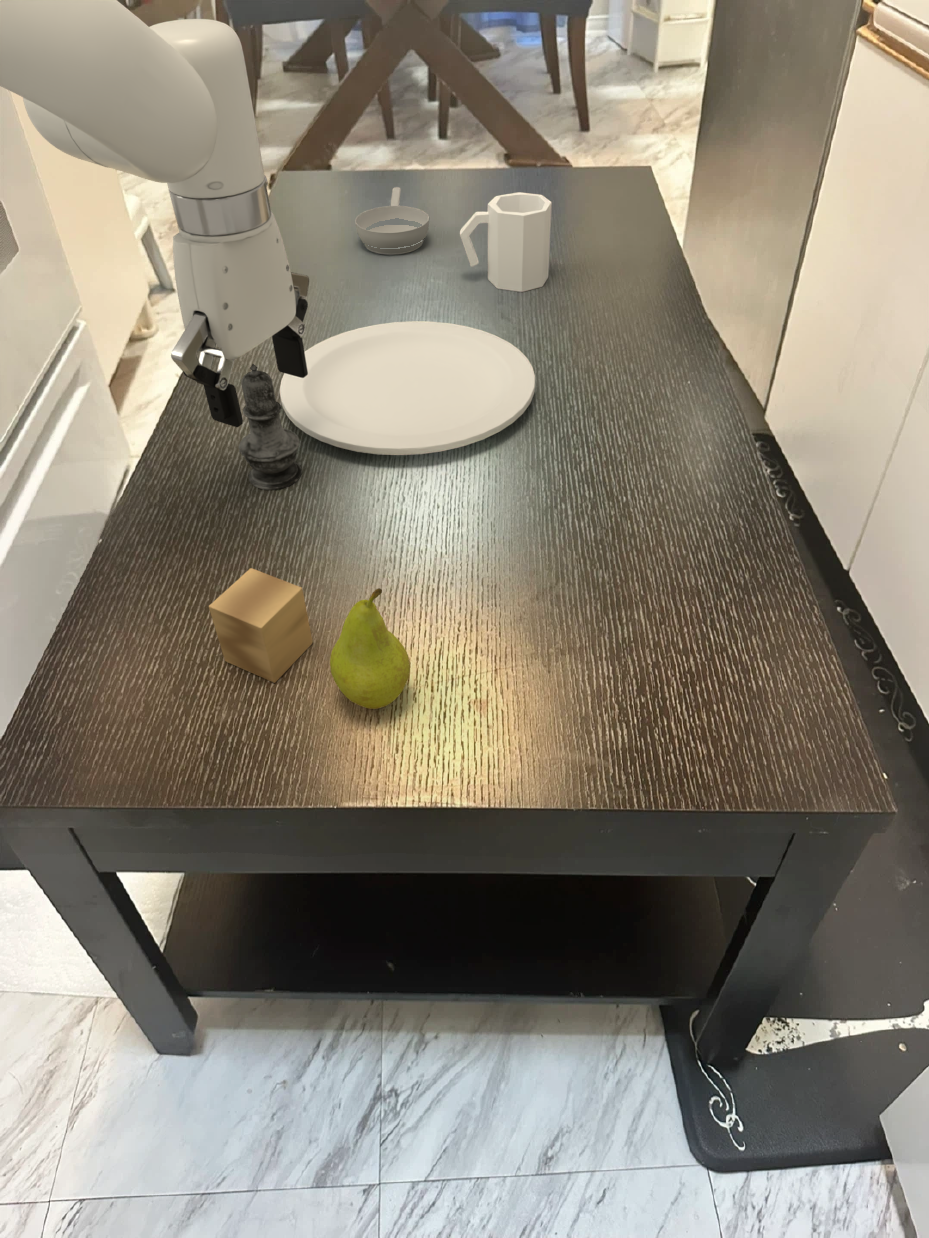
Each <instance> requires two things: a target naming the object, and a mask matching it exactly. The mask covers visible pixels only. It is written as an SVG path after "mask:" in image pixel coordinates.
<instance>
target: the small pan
mask: <svg viewBox="0 0 929 1238" xmlns="http://www.w3.org/2000/svg"><path fill="white" fill-rule="evenodd" d="M391 191H392V192H391V197H390V204H389V205H386V206H379V207H373V208H371V209H367V210H364V211H362V212H361V213H359V214H358V215H357V216H356V217H355V220H354V223H355V228H356V229H355V230H356V233H357V235H358V237H359V239H360V241H361V242H362V243H363V244H364V243H365V244H364V246H365V248H366V249H367V250H368V251H370V252H372V253H375V254H379V255H380V254H381V255H387V256H389V255H390V256H391V255H403V254H407V253H411V252H414V251H416V250H418V249H420V248H421V247H422V245H423V243H424V242H425V239H426V237H427V235H428V233H429V227H430V216H429V214H428V213H427V212H426V211H424V210H423V209H420V208H418V207H417V208H416V207H413V206H405V205H400V203H401V201H400V200H401V192H402V188H401V187H399V186H394V187H393V188H392V190H391ZM395 218H399V219H404V220H408V221H415V222H418V223H420V224H422V226H420V227H418V228H417V227H414V226H409V225H384V226H379V227H375V228H372V229H370V230H366V228H367V227H369V226H371V225H372V224H374V223H377V222H379V221H385V220H390V219H395ZM424 238H425V239H424ZM423 239H424V240H423ZM421 240H423V241H422V242H420V241H421ZM418 242H420V243H418ZM416 243H418V244H416ZM413 244H416V245H414V246H411V245H413ZM368 245H369V246H368ZM371 246H373V247H371ZM404 246H410V247H406V248H400V249H380V248H398V247H404ZM374 247H377V248H374Z"/></svg>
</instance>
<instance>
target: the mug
mask: <svg viewBox="0 0 929 1238" xmlns="http://www.w3.org/2000/svg"><path fill="white" fill-rule="evenodd" d="M552 203H553V201H550V199H548V198H546V197H545V195H543V194H537V193H530V192H529V193H528V192H522V191H521V192H520V191H519V192H513V193H507V194H501V195H495V196H494V197H493V198H492V199H491V200H490V201H489V202H488V203H487V211H475V212H474V213H473V215H472V216H470V218H469V219H468V220H467V221H466V222H465V224H464V225H463V226H462V227H461V229H460V230H459V237H460V239H461V242H462V245H463V248H464V251H465V255H466V257H467V260H468V263H469V266H470V268H473V267H475V266H477V265H478V264H479V263H480V261H479V257H478V254H477V251H476V249H475V247H474V244H473V241H472V238H471V237H470V235H471V234H472V233H473V232H474V231H475V229H476V228H477V226H478V225H479V224H487V280H488V281H489V282H490V283H491V284H492V285H493V286H494V287H495V288H496V289H498V290H504V291H510V292H511V291H512V292H520V293H523V292H527V291H532V290H534V289H538V288H543V287H544V285H545V283H546V282H547V280H548V278H549V270H550V247H551V228H552V227H551V223H552V206H553V205H552Z"/></svg>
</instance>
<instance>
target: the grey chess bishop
mask: <svg viewBox="0 0 929 1238" xmlns="http://www.w3.org/2000/svg"><path fill="white" fill-rule="evenodd" d="M257 369H258V366H257V365H256V364H255V363H252V364H251V366H250V367H249V370H251V371H249V372H247V373H245V374H244V375H243V376H242V378H241V382H240V386H241V390H242V394H243V398H244V399H243V400H244V403H245V406H244V407H243V409H242V413H243V415H244V417H246V418H247V422H248V426H249V433H248V434H247V435H245V436H244V437H243V438H242V439H241V440H240V442H239V443H238V452H239V453H240V455H241V456H242V457H243V459H244V460H245V461H246V463H247V464H248V466H249V467H250V468H251V469H250V470H249V472H248V482H250V484H251V485H252V486H253V487H254V488H258V489H259V490H267V491H275V490H282V489H284V488H288V487H290V486H292V485H294V484H295V483H296V482H298V481H299V480H300V478H301V477H302V473H303V470H302V467H301V466H300V464H299V463H298V462H297V461H296V459H297V455H298V449H299V447H300V443H301V442H300V437H299V436H298V435H297V434H296V433H295V432H294V431H292V430H290V429H287V428H284V427H283V426H282V421H281V416H280V413H281V412H282V404H281V403H280V402H278V401H277V400H276V395H275V389H274V383H273V379H272V377H271V376H270V374H269V373H267V372H266V371H262V370H257Z"/></svg>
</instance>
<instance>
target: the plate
mask: <svg viewBox="0 0 929 1238" xmlns="http://www.w3.org/2000/svg"><path fill="white" fill-rule="evenodd" d="M304 352H305V358H306V365H307V371H308V375H307V376H305V377H304V378H300V377H297V376H293V375H289V374H286V373H283V376H282V377H281V380H280V386H279V396H280V401H281V402H280V404H281V408H282V409H283V411H284V413H285V415H286V416H287V418H288V419H289V420H290V421H291V422H292V423H293V425H294V426H295V427H297V428H298V429H299V430H300V431H302V432H303V433H305V434H306V435H308V436H310V437H312V438H314V439H315V440H318V441H320V442H322V443H325V444H328V445H331V446H334V447H335V448H339V449H345V450H349V451H353V452H357V453H364V454H372V455H381V456H382V455H383V456H411V455H424V454H425V455H426V454H432V453H438V452H439V453H440V452H446V451H449V450H454V449H458V448H462V447H465V446H468V445H469V446H470V445H471V444H474V443H478V442H480V441H483V440H485V439H487V438H489V437H491V436H493V435H496V434H497V433H499V432H501V431H503V430H504V429H507V427H509V426H511V425H512V424H513V423H515V422H516V421H517V420H518V419H519V418H520V417H521V416H522V415H523V414H525V412H526V410H527V408H528V407H529V406H530V405H531V402H532V400H533V399H534V398H533V397H534V395H535V389H536V387H535V386H536V375H535V371H534V367H533V366H532V363H531V362H530V360H529V359H528V357H527V356H526V355H525V354H524V353H523V352H522V351H521V350H520V349H519V348H518V347H516V346H515V345H513V344H512V343H510V342H509V341H507V340H505V339H503V338H501V337H499V336H497V335H495V334H492V333H490V332H487V331H485V330H482V329H478V328H475V327H471V326H467V325H461V324H454V323H451V322H439V321H420V320H418V321H417V320H413V321H412V320H411V321H394V322H386V323H378V324H373V325H368V326H363V327H359V328H354V329H351V330H348V331H344V332H341V333H339V334H335V335H333V336H331V337H328V338H326V339H324V340H322V341H320V342H318V343H316V344H314V345H312V346H311V347H310V348H308V349H306V350H304Z"/></svg>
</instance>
